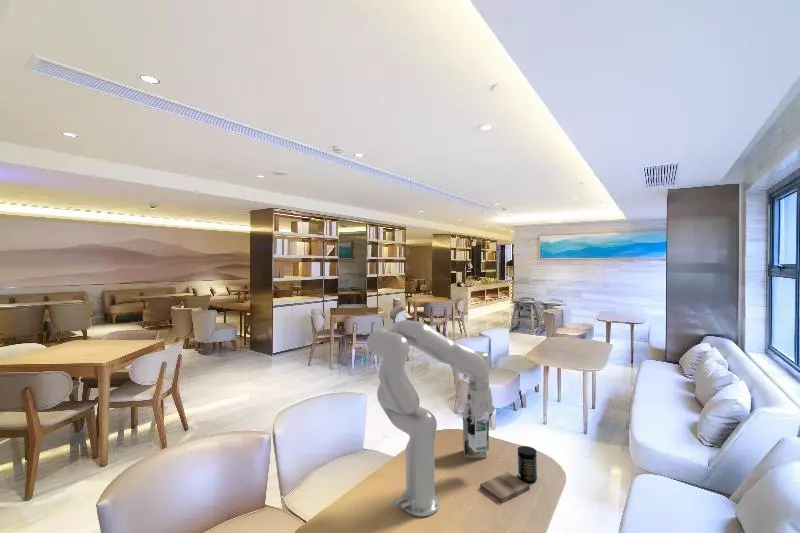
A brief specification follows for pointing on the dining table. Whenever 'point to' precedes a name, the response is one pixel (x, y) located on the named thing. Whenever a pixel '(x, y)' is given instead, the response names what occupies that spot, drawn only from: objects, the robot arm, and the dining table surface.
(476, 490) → the dining table surface
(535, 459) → the supplement container
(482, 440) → the syrup box
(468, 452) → the coffee box
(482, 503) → the dining table surface
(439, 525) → the dining table surface
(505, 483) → the walnut serving board
